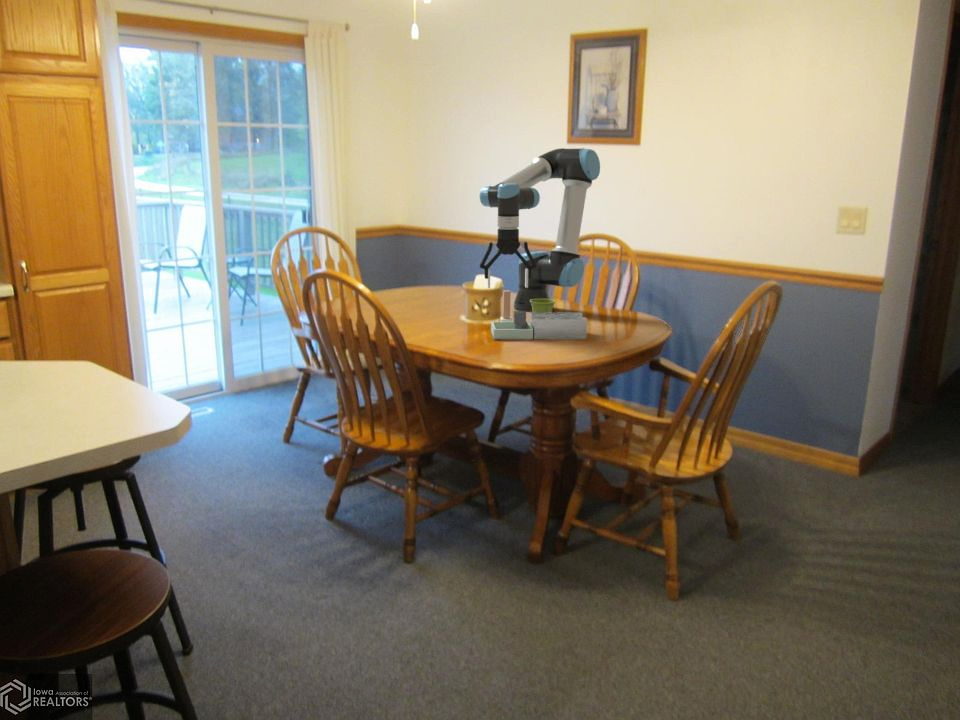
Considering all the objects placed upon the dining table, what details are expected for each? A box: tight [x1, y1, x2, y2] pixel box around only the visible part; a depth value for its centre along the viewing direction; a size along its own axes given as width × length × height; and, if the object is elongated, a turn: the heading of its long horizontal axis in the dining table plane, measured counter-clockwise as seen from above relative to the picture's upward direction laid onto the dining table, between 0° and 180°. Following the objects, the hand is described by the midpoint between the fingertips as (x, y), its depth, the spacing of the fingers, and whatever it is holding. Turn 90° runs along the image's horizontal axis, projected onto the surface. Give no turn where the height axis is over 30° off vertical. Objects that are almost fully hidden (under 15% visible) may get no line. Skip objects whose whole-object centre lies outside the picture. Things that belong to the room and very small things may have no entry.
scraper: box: [499, 290, 513, 322], centre depth 290 cm, size 5×4×14 cm
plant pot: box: [530, 298, 556, 312], centre depth 298 cm, size 9×9×9 cm
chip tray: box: [490, 321, 534, 341], centre depth 279 cm, size 13×14×4 cm
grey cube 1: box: [512, 310, 527, 324], centre depth 278 cm, size 4×4×4 cm
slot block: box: [529, 311, 588, 340], centre depth 279 cm, size 12×18×7 cm, turn 93°
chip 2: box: [515, 321, 528, 329], centre depth 279 cm, size 4×4×4 cm
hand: (507, 287), depth 289 cm, fingers open, 13 cm apart
